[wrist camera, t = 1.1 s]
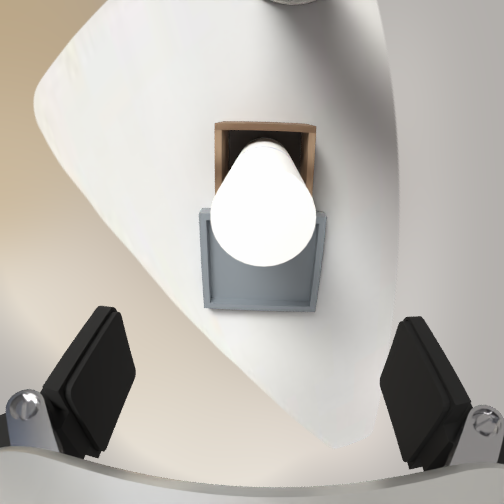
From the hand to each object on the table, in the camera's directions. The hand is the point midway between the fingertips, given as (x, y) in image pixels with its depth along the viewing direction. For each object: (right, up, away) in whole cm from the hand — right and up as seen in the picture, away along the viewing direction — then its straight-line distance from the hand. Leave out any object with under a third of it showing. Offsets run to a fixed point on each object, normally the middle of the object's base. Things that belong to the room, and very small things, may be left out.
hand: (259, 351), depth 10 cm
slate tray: (+1, +2, +41) cm, 41 cm away
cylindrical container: (+2, +16, +34) cm, 38 cm away
